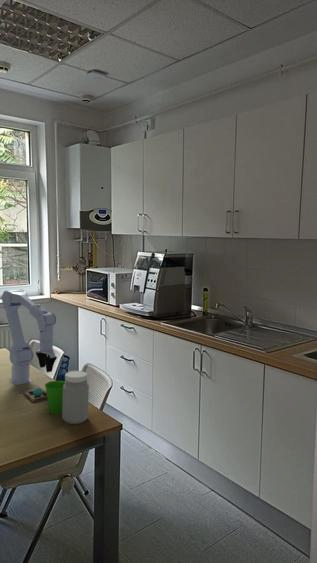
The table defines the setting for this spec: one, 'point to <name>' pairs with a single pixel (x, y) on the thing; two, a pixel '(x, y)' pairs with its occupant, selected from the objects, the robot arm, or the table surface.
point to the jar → (75, 397)
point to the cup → (55, 396)
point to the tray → (36, 399)
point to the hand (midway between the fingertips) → (45, 369)
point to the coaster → (23, 391)
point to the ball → (37, 392)
